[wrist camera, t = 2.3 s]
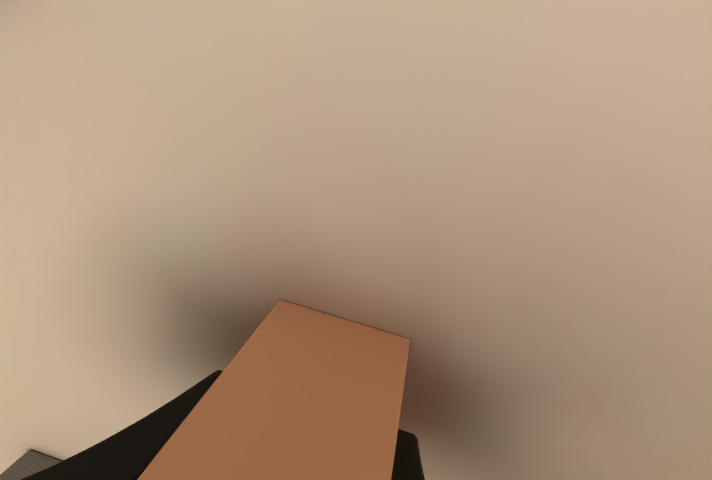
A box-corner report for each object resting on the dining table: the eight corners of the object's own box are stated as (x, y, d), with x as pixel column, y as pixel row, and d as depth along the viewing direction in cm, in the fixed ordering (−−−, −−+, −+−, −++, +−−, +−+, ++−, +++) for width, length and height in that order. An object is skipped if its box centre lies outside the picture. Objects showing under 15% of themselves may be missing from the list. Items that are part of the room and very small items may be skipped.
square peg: (410, 339, 12) (372, 612, 6) (377, 442, 14) (317, 753, 7) (279, 299, 13) (110, 513, 6) (260, 403, 14) (106, 665, 8)
